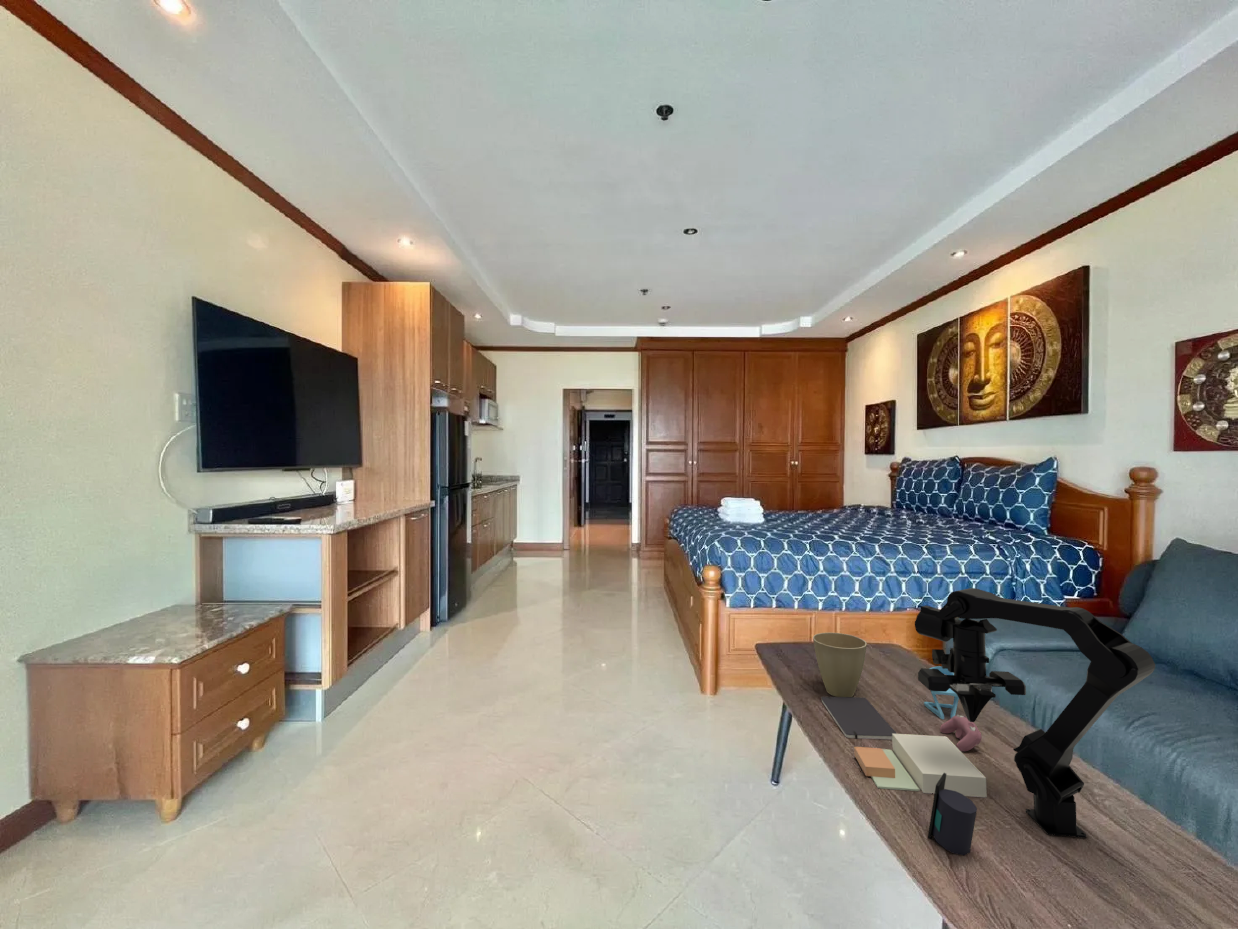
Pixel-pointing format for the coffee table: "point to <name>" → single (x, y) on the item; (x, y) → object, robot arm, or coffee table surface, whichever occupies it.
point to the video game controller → (962, 732)
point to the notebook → (858, 718)
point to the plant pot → (840, 662)
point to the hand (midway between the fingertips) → (971, 721)
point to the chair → (948, 692)
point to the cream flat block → (938, 764)
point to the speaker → (952, 819)
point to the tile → (874, 762)
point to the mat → (896, 776)
